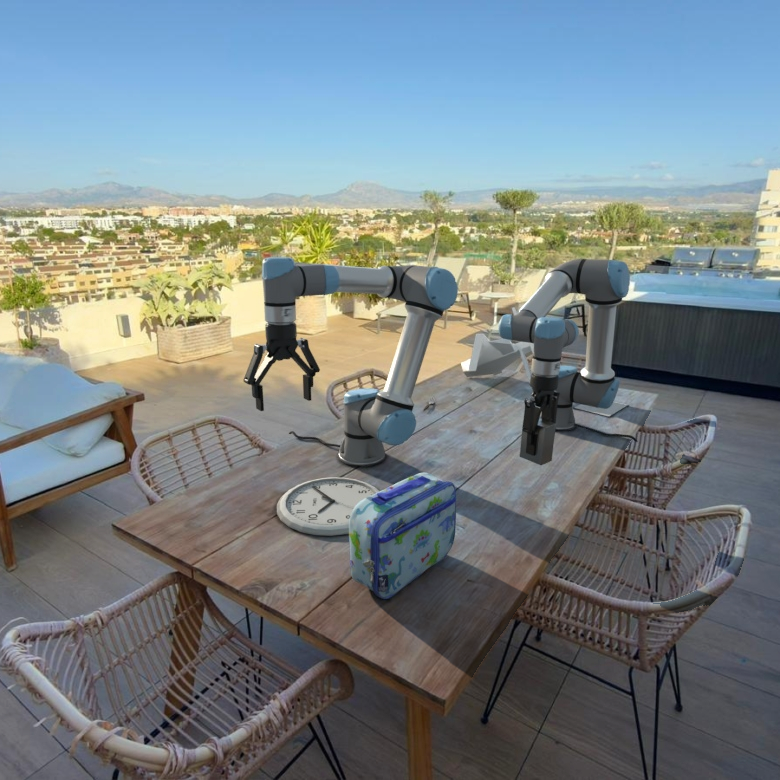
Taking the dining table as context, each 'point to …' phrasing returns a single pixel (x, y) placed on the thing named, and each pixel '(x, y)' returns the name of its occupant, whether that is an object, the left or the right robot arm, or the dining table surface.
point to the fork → (430, 403)
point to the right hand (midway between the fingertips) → (536, 451)
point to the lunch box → (401, 532)
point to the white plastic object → (495, 355)
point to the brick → (540, 443)
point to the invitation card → (606, 412)
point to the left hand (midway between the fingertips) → (284, 404)
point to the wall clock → (323, 505)
